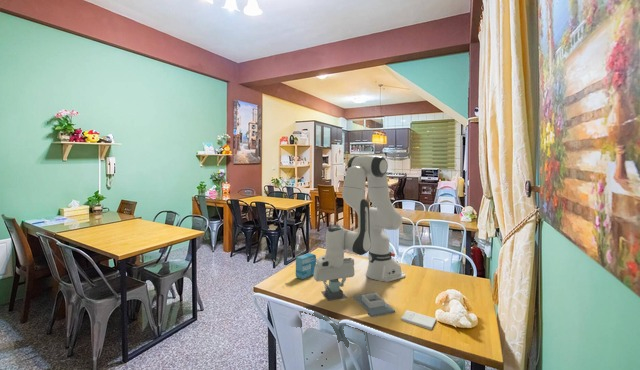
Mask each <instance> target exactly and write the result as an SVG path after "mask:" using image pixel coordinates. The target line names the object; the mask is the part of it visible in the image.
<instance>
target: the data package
mask: <svg viewBox="0 0 640 370" xmlns="http://www.w3.org/2000/svg"><path fill="white" fill-rule="evenodd" d="M316 259H317V255H316V254H314V253H312V252H308V253H305V254H301V255H299V256H296V258H295V277H296V278H297V279H300V280H304V279H307V278H311V277H312V276H314V267H315V265H316V264H317V263H316Z"/></svg>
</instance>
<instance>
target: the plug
mask: <svg viewBox="0 0 640 370" xmlns="http://www.w3.org/2000/svg"><path fill="white" fill-rule="evenodd" d="M340 282H341V281H339V279H333V280H328V285H329V291H330V292H331V293H333V292H340V289H341V287H340Z"/></svg>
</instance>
